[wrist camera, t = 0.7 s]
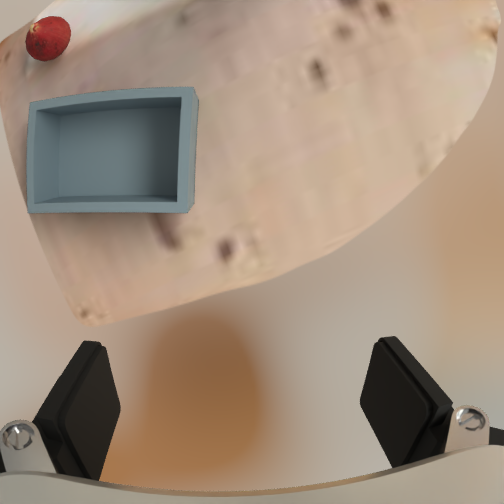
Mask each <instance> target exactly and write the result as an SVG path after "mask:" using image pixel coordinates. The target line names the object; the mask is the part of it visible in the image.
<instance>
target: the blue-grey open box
mask: <svg viewBox="0 0 504 504" xmlns="http://www.w3.org/2000/svg"><path fill="white" fill-rule="evenodd" d="M198 106H199V99H198V97H197V95H196V92H195V90H194V87H159V88H138V89H124V90H112V91H102V92H93V93H85V94H78V95H71V96H64V97H58V98H52V99H46V100H41V101H35V102H30V107H29V119H28V133H27V166H26V174H27V207H28V213H66V212H156V213H188V212H189V210H190V209H191V207H192V206H193V204H194V191H195V162H196V141H197V122H198Z"/></svg>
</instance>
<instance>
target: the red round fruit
mask: <svg viewBox="0 0 504 504" xmlns="http://www.w3.org/2000/svg"><path fill="white" fill-rule="evenodd" d="M70 36H71V29H70V26H69V24H68V22H67V21H65V20H64V19H63V18H61V17H56V16H49V17H46V18H43V19H41V20H39V21H38V22H36V23H34V24H32V25H31V26H30V30H29V32H28V33H27V37H26V41H25V42H26V49H27V51H28V53H29V54H30V55H31V56H32V57H33V58H34V59H37V60H40V61H48V60H52V59H55V58H56V57H58V56H59V55H60V54H62V52H63V51H64V50H65V49H66V47H67V45H68V43H69V41H70Z"/></svg>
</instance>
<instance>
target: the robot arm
mask: <svg viewBox="0 0 504 504" xmlns="http://www.w3.org/2000/svg"><path fill="white" fill-rule="evenodd" d="M452 404H453V402H452V401H451V400H450V398H449V397H448V396H447V395H446V394H445V393H444V391H443V390H442V389H441V388H440V387H439V385H438V384H437V383H436V382H435V381H434V380H433V378H432V377H431V376H430V375H429V374H428V372H426V370H425V369H424V368H423V367H422V366H421V364H420V363H419V362H418V361H417V360H416V359H415V358H414V356H413V355H412V354H411V353H410V352H409V351H408V350H407V348H406V347H405V346H404V345H403V344H402V343H401V342H400V340H399V339H398V338H397V337H395V336H392V337H384V338H380V339H379V340H378V342H376V343H375V344H374V347H373V351H372V355H371V359H370V363H369V367H368V371H367V375H366V379H365V383H364V386H363V390H362V394H361V397H360V405H361V408H362V410H363V412H364V413H365V416H366V418H367V419H368V421H369V423H370V425H371V427H372V429H373V431H374V433H375V435H376V437H377V439H378V441H379V443H380V445H381V447H382V448H383V450H384V452H385V454H386V456H387V458H388V460H389V462H390V464H391V466H392V468H391V469H388V470H384V471H380V472H376V473H372V474H368V475H363V476H358V477H354V478H349V479H343V480H338V481H333V482H326V483H320V484H313V485H306V486H298V487H290V488H280V489H268V490H253V491H182V490H166V489H155V488H146V487H137V486H129V485H122V484H114V483H108V482H102V481H99V479H100V475H101V472H102V469H103V465H104V462H105V459H106V455H107V452H108V449H109V445H110V442H111V439H112V436H113V433H114V429H115V427H116V424H117V421H118V418H119V414H120V402H119V398H118V395H117V391H116V387H115V383H114V380H113V375H112V372H111V368H110V363H109V359H108V355H107V350H106V348H105V347H104V346H102V345H101V343H100V342H96V341H83V342H82V344H81V345H80V347H79V348H78V350H77V352H76V353H75V354H74V356H73V358H72V359H71V360H70V362H69V364H68V365H67V367H66V369H65V370H64V371H63V373H62V375H61V376H60V377H59V378H58V380H57V381H56V383H55V385H54V386H53V388H52V390H51V391H50V393H49V395H48V397H47V398H46V400H45V401H44V403H43V404H42V406H41V408H40V409H39V411H38V413H37V415H36V416H35V418H34V420H33V421H32V422H29V421H27V420H15V421H12V422H10V423H8V424H6V425H5V426H4V427H3V428H2V429H1V431H0V504H504V430H501V429H497V428H493V427H490V422H489V418H488V416H487V414H486V413H485V412H484V411H483V410H481V409H479V408H478V407H474V406H470V405H463V406H460V407H458V408H456V409H455V410H454V409H453V408H452Z"/></svg>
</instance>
